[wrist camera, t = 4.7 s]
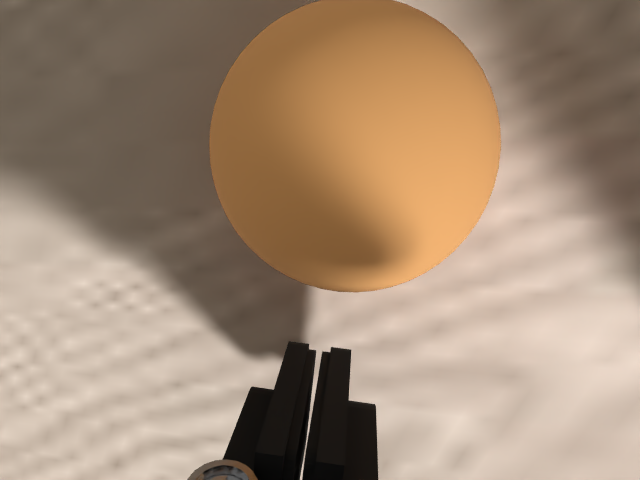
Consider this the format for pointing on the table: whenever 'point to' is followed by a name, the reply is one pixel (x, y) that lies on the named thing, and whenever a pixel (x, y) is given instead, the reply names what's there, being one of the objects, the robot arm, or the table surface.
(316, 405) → the robot arm
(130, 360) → the table surface
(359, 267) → the ball
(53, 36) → the table surface
